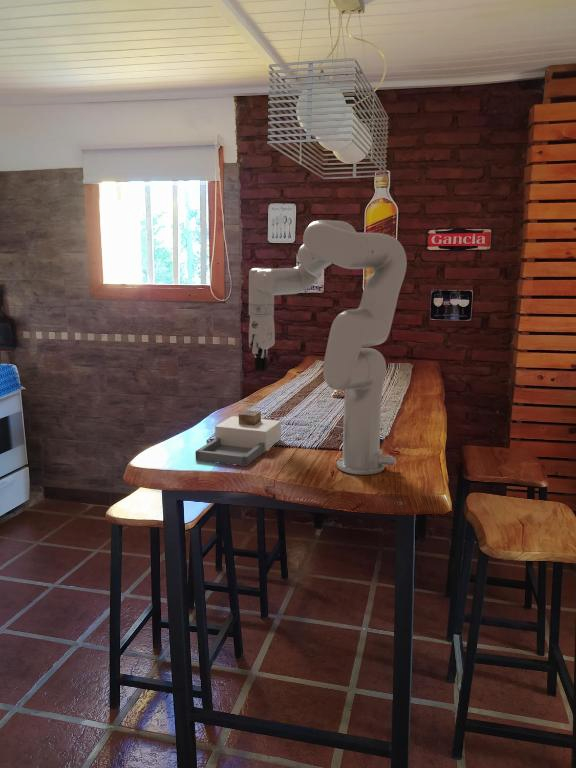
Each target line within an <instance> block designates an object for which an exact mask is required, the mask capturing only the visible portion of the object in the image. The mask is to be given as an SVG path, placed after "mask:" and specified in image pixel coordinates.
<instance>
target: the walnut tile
mask: <svg viewBox="0 0 576 768" xmlns="http://www.w3.org/2000/svg"><path fill="white" fill-rule="evenodd" d="M261 413H262V411H258V410H243V411H242V412H240V413H238V417H239V424H243V425H253V426H255V425H256V424H258V423H259V422H261V419H262V414H261Z"/></svg>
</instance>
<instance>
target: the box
mask: <svg viewBox="0 0 576 768" xmlns="http://www.w3.org/2000/svg"><path fill="white" fill-rule="evenodd" d="M262 453H263V454H264V453H266V452H265V443H260V444H258V445H257V446H256V447H254V448H244V447H236V446H227V445H221V439H220V438H216V439H215V438H214V439H212V440H211V441H209V442H208V443H206V444H205V445H203V446H201V447H200V448H198V449H196V450H195V461H198V462H207V463H213V462H219V463H218V464H221V463H229V464H236V465H243V466H242V467H244V466H247V465H248V464H249V463H250V462H252V461H253V460H254V459H255V460H257V457H258V456H259V457H260V456H262V455H263V454H262ZM259 457H258V458H259ZM255 460H254V461H255ZM254 461H253V462H254ZM253 462H252V463H253ZM229 464H228V465H229ZM250 464H251V463H250ZM250 464H249V465H250ZM236 465H235V466H236ZM249 465H248V466H249ZM248 466H247V467H248Z"/></svg>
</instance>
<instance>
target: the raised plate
mask: <svg viewBox="0 0 576 768" xmlns="http://www.w3.org/2000/svg"><path fill="white" fill-rule="evenodd" d="M214 430H215V431H214V434H215V436H214V437H215V438H214V439H216V438H220V439H221V445H227V446H236V447H244V448H254V447H256V446H257V445H258V444H260V443H265V452H264V453H267V452H268V451H270V450H271V449H272V448H273V447H274V446H275V445H274V443H276V442H277V441H278V440H280V439H281V440H282V421H281V420H275V419H265V418H261V422H259V423H258V424H256V425H255V426H253V425H243V424H239V416H235V415H232V416H230V417H229V418H226V419H225V420H224V421H221V422H220V423H218V424H216V425H214ZM281 440H280V441H281ZM273 445H274V446H273ZM272 446H273V447H272ZM271 447H272V448H271ZM270 448H271V449H270ZM266 451H267V452H266Z"/></svg>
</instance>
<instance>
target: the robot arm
mask: <svg viewBox="0 0 576 768" xmlns="http://www.w3.org/2000/svg"><path fill="white" fill-rule="evenodd" d="M302 242H303V244H302V245H300V247H299V249H298V251H297V258H298V261H299V264H298V265H297V266H294V267H284V268H283V267H282V268H281V267H278V268H277V267H276V268H269V267H268V268H267V267H253V268H251V269H249V271H248V272H249V273H248V316H249V325H248V326H249V327H248V347H249V348H250V349H252V350H251V352H252V354H253V355H254V370H255V371H257V372H260V371H261V372H265V371H267V370H268V369H267V368H268V367H267V366H268V364H267V363H268V360H267V359H268V354H269V353H268V350H269V349H270V348H272V347H273V346H274V345H275V344H276V338H275V337H276V335H275V334H276V331H275V317H274V315H275V296H282V295H283V296H284V295H296V294H300V293H302V292H304V291H306V290H308V289H309V288H310V287H312V286H313V285H314V284H316V283H317V281H318V280H319V278H320V276H321V274H322V271H324V270H325V269H327V267H329V266H331V265H333V264H334V265H335V266H338V267H340V268H343V269H348V270H363V269H364V270H367V269H369V270H370V269H372V270H373V272H372V274H371V276H370V277H369V278H368V280H367V282H366V283H365V284H364V285H365V286H364V289H363V290H362V291H363V292H362V295H361V300H360V303H359V306H358V307H357V308H351V309H346V310H344V311H341V312H340V313H338V315H337V316H336V317H335V319H333V321H332V324H331V327H330V331H329V334H328V339H327V345H326V350H325V354H324V359H323V360H324V361H323V366H322V368H323V369H322V374H323V380H324V381H325V383H326V385H327V386H328V387H329V388H330V389H331V390H335V391H341V392H342V391H346V392H345V395H344V401H343V423H342V424H343V426H342V427H343V428H342V429H343V432H342V433H343V434H342V435H343V436H342V457H340V458H338V459H337V461H336V467H337V469H338V470H340V471H341V472H344V473H347V474H351V475H358V476H359V475H360V476H362V475H364V476H367V475H374V474H379V473H380V472H383V471H384V470H385V468H386V467H385V466H386V465H387V466H394V467H395V466H396V462H397V461H396V460H397V459H396V458H395V457H393V455H385V453H383V449H382V448H380V443H381V442H380V441H381V440H380V439H381V413H382V396H383V389H384V388H383V387H384V384H385V379H386V373H387V364H386V363H387V362H386V360H385V357H384V356H383V354H382V353H381V352H380V351H379V350H377V349H375V348H372V347H374V346H375V347H376V346H378V345H382V344H384V343H385V342H386V341H387V339H388V337H389V336H390V332H391V328H392V324H393V319H394V316H395V312H396V308H397V303H398V300H399V299H398V298H399V294H400V292H401V287H402V285H403V282H404V279H405V275H406V272H407V265H408V264H407V261H408V260H407V254H406V251H405V249H404V246H403V245H402V243H401V242H400V241H399V240H398V239H397V238H395V237H394V236H392V235H389V234H386V233H381V232H357V231H356V229H355V227H354V226H352V225H351V224H350V223H348V222H346V221H342V220H334V219H333V220H329V219H319V220H314V221H312V222H311V223H309V225H308V226H306V228H305V230H304V232H303V238H302Z"/></svg>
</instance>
